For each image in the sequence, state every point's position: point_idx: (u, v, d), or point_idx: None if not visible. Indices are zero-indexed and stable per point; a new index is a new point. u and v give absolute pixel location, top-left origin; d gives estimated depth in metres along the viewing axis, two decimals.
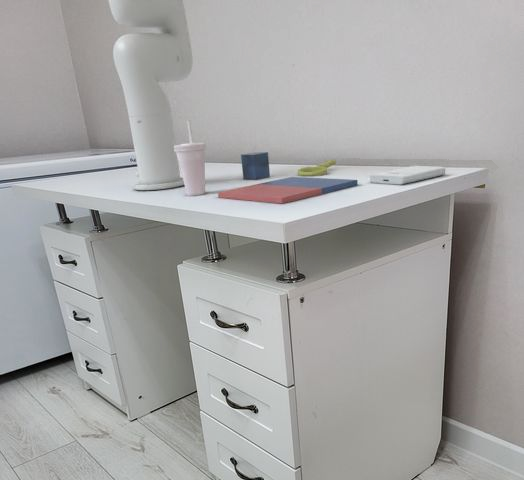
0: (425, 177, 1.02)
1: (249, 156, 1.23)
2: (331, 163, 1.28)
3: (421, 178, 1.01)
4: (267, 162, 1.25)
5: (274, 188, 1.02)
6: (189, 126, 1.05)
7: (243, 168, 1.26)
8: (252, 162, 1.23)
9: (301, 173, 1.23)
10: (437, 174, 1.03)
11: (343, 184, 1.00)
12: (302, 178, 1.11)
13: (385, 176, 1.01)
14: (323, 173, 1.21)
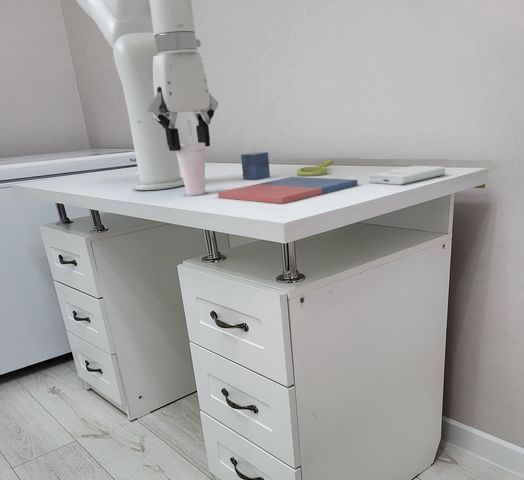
0: (425, 177, 1.02)
1: (249, 156, 1.23)
2: (329, 163, 1.29)
3: (421, 178, 1.01)
4: (267, 162, 1.25)
5: (274, 188, 1.02)
6: (189, 126, 1.05)
7: (243, 168, 1.26)
8: (252, 162, 1.23)
9: (301, 173, 1.23)
10: (437, 174, 1.03)
11: (343, 184, 1.00)
12: (302, 178, 1.11)
13: (385, 176, 1.01)
14: (323, 173, 1.21)
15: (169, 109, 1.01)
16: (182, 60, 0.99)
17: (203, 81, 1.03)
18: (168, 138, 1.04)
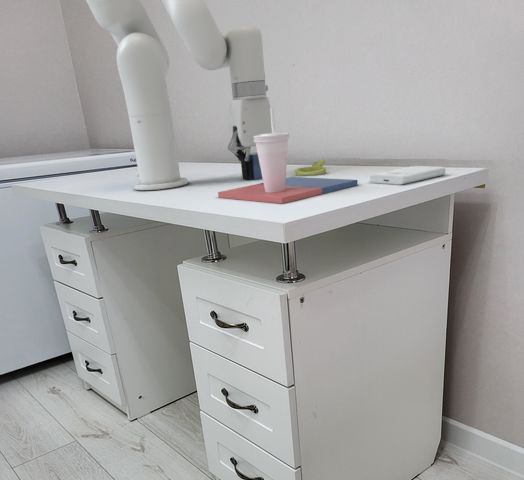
0: (425, 177, 1.02)
1: None
2: (323, 163, 1.30)
3: (421, 178, 1.01)
4: None
5: None
6: (272, 114, 0.93)
7: None
8: (252, 162, 1.23)
9: (301, 173, 1.23)
10: (437, 174, 1.03)
11: (343, 184, 1.00)
12: (302, 178, 1.11)
13: (385, 176, 1.01)
14: (323, 172, 1.22)
15: (243, 144, 1.20)
16: (255, 103, 1.18)
17: (270, 120, 1.22)
18: (243, 169, 1.24)
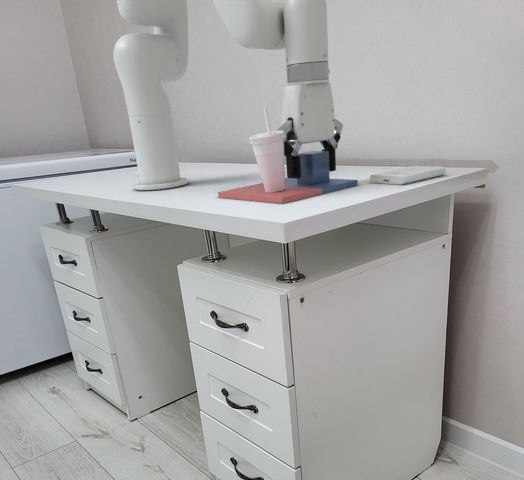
0: (425, 177, 1.02)
1: (306, 156, 1.01)
2: None
3: (421, 178, 1.01)
4: (327, 163, 1.03)
5: None
6: (266, 113, 0.92)
7: None
8: (310, 163, 1.01)
9: None
10: (437, 174, 1.03)
11: (343, 184, 1.00)
12: None
13: (385, 176, 1.01)
14: None
15: (299, 140, 0.98)
16: (315, 90, 0.96)
17: (331, 111, 1.00)
18: (289, 165, 1.00)
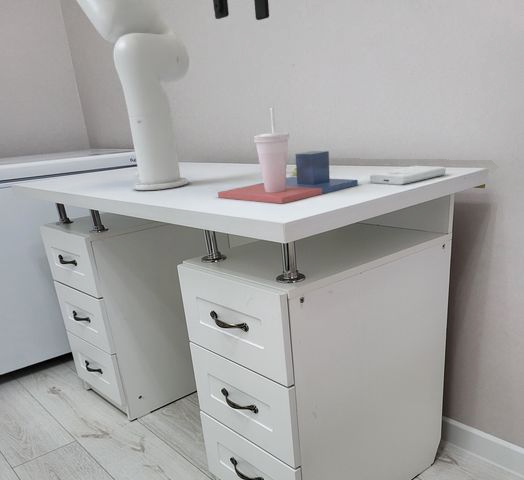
0: (425, 177, 1.02)
1: (306, 156, 1.01)
2: None
3: (421, 178, 1.01)
4: (327, 163, 1.03)
5: None
6: (272, 114, 0.93)
7: (298, 170, 1.04)
8: (310, 163, 1.01)
9: None
10: (437, 174, 1.03)
11: (343, 184, 1.00)
12: None
13: (385, 176, 1.01)
14: None
15: None
16: None
17: None
18: (215, 2, 0.95)
